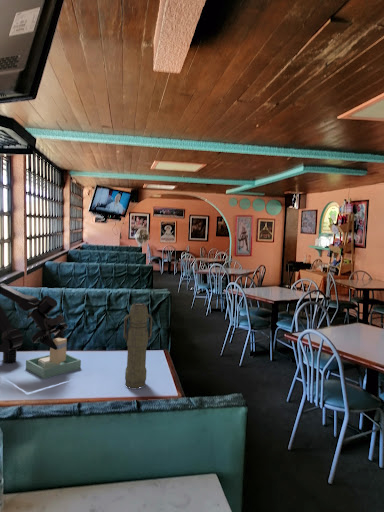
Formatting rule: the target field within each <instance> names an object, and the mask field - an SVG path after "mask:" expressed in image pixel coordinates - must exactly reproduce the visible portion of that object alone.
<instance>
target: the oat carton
mask: <svg viewBox="0 0 384 512" xmlns="http://www.w3.org/2000/svg"><path fill="white" fill-rule="evenodd" d="M52 340H53V341H54V343H55V345H56V346H57V349H56V350H55V349H53V348H51V347H49V355H50V363H55V364H59V363H61V362H63V361H65V360H66V354H67V343H68V342H67V340H68V339H67V338H65V337H64V338H59V337H58V338H52Z"/></svg>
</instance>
